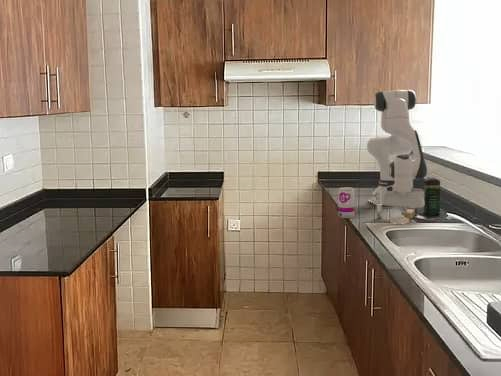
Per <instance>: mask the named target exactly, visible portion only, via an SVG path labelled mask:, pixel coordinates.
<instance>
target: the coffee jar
mask: <svg viewBox="0 0 501 376" xmlns="http://www.w3.org/2000/svg"><path fill="white" fill-rule="evenodd" d="M423 191H424V202H425V205H424V207H423V212H424V214H426V215H432V216H433V215H439V214H441V180H440V179H438V178H436V177H427V178H425V179H424V180H423Z"/></svg>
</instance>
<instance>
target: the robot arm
mask: <svg viewBox="0 0 501 376" xmlns="http://www.w3.org/2000/svg"><path fill="white" fill-rule="evenodd" d="M416 103H417V95H416V92H415V91H414V90H411V89H406V90H405V89H394V90H386V91H378V92H376V93H375V94H374V97H373V107H374V108H375V110H376V111H379V112H381V115H380V116H381V120H380V127H381V130H383V131H384V133H387V134H389V135H390V136H389V135H388V136H387V135H386V136H385V135H383V136H376V137H371V138H370V139H369V140H368V142H367V144H366V149H367V151H368V154H370V155H371V156H372V157H373V158H374V159H375V160H376V162H377V163H378V165H379V174H380V175H379V176H380V179H379V180H378V181H377V182H378V185H377V187H376V189H375V190H373V191H372V193H371V194H372V195H371V199H368V200H367V202H368V201H369V202H368V203H370V202H371V203H370V204H372V203H373V204H372V205H375V206H377V204H382V206H387V207H388V206H389V207H390V206H391V207H398V209H399V211H400V215H401V217H404V213H405V212H407V210H408V207H415V208H417V209H418V208H419V209H422V208H424V205H425V202H424V189H422V188H415V187H414V180H417V181H418V180H423V179H424V178H425V177H426V176H427V175H428V167H427V164H426V160H425V158H424V157H425V156H424V152H423V150H422V149H423V148H422V146H421V145H422V144H421V140H420V136H419V133H418V131H417V129H415V128H414V127H413V126H412V125H411V122H410V115H409V111H410V110H412V109H414V108H415V106H416ZM410 153H413V157H414V159H413V158H412V155H410ZM390 156H395V159H394V160H391V159H390Z"/></svg>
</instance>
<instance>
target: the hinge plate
mask: <svg viewBox="0 0 501 376" xmlns="http://www.w3.org/2000/svg"><path fill="white" fill-rule="evenodd" d="M413 218H416V219H420V220H424V221H435V218H431V217H427V216H423V215H419V214H418V213H417V215H415V216H414V217H413Z"/></svg>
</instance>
